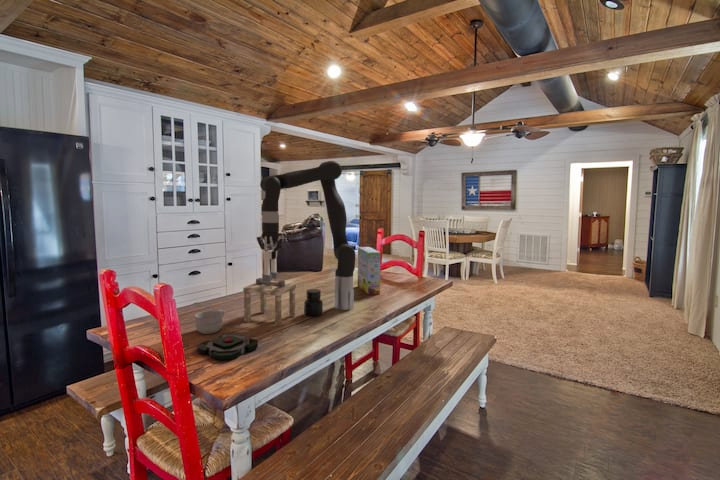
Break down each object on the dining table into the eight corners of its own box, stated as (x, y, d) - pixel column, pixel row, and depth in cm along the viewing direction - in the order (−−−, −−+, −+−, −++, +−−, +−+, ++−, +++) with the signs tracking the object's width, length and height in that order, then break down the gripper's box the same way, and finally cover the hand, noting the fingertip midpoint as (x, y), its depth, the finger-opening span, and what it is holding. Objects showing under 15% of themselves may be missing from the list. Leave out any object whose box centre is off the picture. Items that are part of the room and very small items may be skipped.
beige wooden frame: (295, 316, 184) (295, 278, 181) (279, 326, 168) (279, 285, 166) (262, 311, 189) (262, 274, 187) (243, 321, 174) (243, 281, 171)
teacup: (206, 338, 153) (205, 319, 152) (189, 332, 159) (189, 314, 158) (234, 328, 165) (233, 310, 164) (217, 323, 171) (217, 306, 170)
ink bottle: (315, 310, 193) (315, 287, 192) (326, 314, 187) (327, 291, 185) (299, 314, 186) (299, 290, 185) (310, 319, 180) (311, 294, 179)
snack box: (356, 286, 245) (357, 246, 242) (368, 285, 248) (370, 246, 245) (366, 295, 225) (368, 252, 222) (380, 294, 227) (382, 251, 224)
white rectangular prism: (271, 277, 181) (271, 249, 179) (278, 277, 180) (278, 250, 178) (262, 280, 173) (262, 252, 171) (269, 281, 172) (269, 252, 170)
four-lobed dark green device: (192, 352, 141) (191, 340, 140) (231, 337, 156) (231, 326, 155) (224, 365, 131) (224, 352, 131) (263, 347, 147) (263, 336, 146)
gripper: (288, 221, 175) (288, 258, 177) (261, 220, 179) (261, 256, 181) (280, 222, 168) (280, 261, 170) (252, 221, 171) (252, 259, 174)
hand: (270, 258), depth 175 cm, fingers closed on white rectangular prism, 2 cm apart
